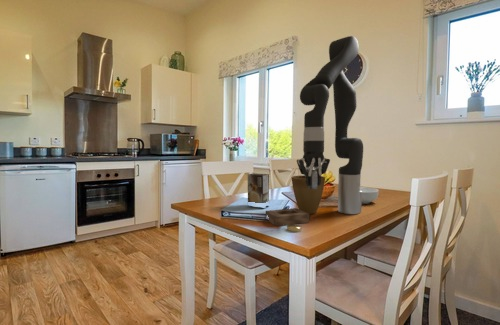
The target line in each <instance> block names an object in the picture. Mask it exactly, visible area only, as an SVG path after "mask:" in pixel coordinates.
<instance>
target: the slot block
mask: <svg viewBox="0 0 500 325" xmlns="http://www.w3.org/2000/svg"><path fill="white" fill-rule="evenodd" d="M266 214H267V215H268V217H269V221H268V222H269V223H270V224H272V225H274V226H275V227H282V226H288V225H293V224H294V225H299V224H308V223H310V214H309V213H306V212H304V211H302V210H299V208H297V207H294V208H283V209H282V208H281V209H274V210H273V209H271V210H265V215H266Z"/></svg>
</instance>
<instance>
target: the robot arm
mask: <svg viewBox="0 0 500 325" xmlns="http://www.w3.org/2000/svg"><path fill="white" fill-rule="evenodd" d="M359 50H360V46H359V42H358V39H357V38H356V37H355V36H353V35H350V36H348V35H347V36H345V37H342V38H338V39H336V40H333V41H331V42H330V44H329V47H328V55H329V61H328V62H327V63H326V64H324V65H323V66H322V67H321V68H320V70H319V71H318V73H317V74H316V75H315V76H314V78H312V79H310V81H309V82H307V83H306V84H305V85H304V86H303V87H302V89H301V90H300V93H299V101H300V103H302V105H304V106H313V108H312V109H311V110H309V111H307V112H306V113H305V114H304V120H303V121H304V124H303V146H302V147H303V150H302V151H303V155H302V158H300V159H296V164H297V166H298V169H299V172H300V174H301V175H305V176H306V184H307V186H311V180H312V176H311V173H312V170H318V186H320V184H321V176H322V175H325V174H326V173H327V170H328V167H329V164H330V162H331V159H329V158H326V157H325V156H324V152H325V129H324V126H325V124H324V122H325V118H324V117H325V114H326V110H327V105H328V103H329V100H330V91H329V89H330V88H331V87H332V88H333V89H332V90H333V91H332V92H333V106H334V121H335V131H334V134H335V135H334V139H335V140H334V148H335V150H334V151H335V154H336V156H337V157H338V158H340V159H345V160H346V159H348V163H347V164H345V165H343V166H340V167H339V168H338V184H337V185H338V186H337V187H338V189H337V190H338V192H337V211H338V213H340V214H346V215H357V214H358V215H359V214H360V213H362V205H363V204H362V191H360V187H361V174H362V173H361V172H362V167H363V157H364V144H363V141H362V139H360V138H358V137H348V128H349V126H350V122H351V120H352V118H353V117H354V114H355V113H356V111H357V110H356V109H357V92H356V89H355V88H354V86H353V84H352V83H351V82H350V81H349V79H348V78H347V76H346V75H345V73H344V70H345V68H346V67H347V66H349V65H350V63H351V62H352V61H354V59H355V58H356V57H357V56H358V54H359Z"/></svg>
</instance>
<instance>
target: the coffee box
mask: <svg viewBox="0 0 500 325" xmlns="http://www.w3.org/2000/svg"><path fill="white" fill-rule="evenodd" d="M268 201H269V202H270V174H268V173H267V174H266V173H256V172H254V173H253V172H252V173H249V174H247V203H248V202H255V203H266V202H268Z"/></svg>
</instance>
